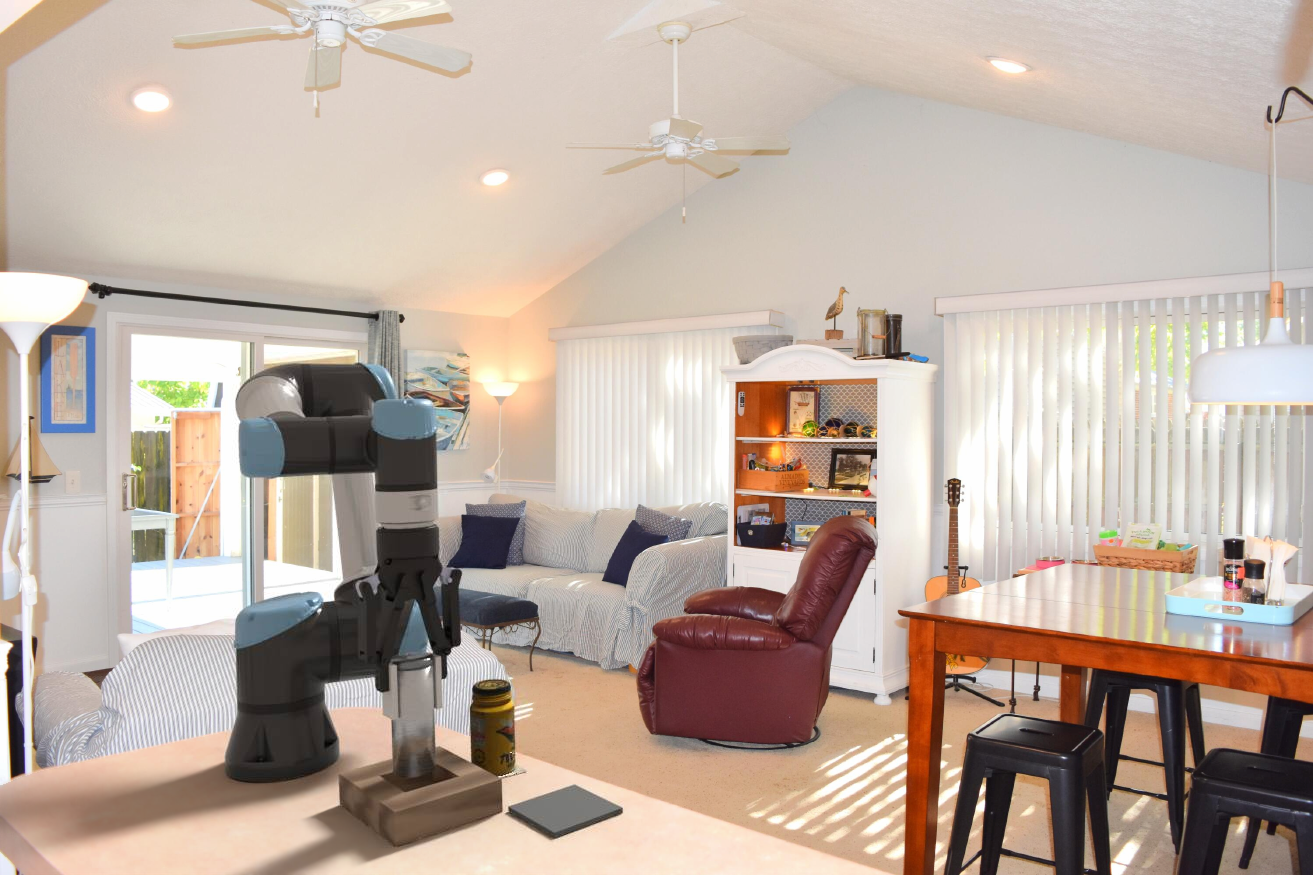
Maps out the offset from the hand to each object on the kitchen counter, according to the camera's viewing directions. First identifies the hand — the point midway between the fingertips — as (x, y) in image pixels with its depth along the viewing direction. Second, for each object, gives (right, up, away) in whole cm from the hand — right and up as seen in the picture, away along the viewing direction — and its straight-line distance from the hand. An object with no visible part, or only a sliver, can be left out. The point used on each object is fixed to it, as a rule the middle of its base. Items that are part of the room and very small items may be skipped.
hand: (412, 710), depth 118 cm
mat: (+19, -12, -1) cm, 23 cm away
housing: (+1, -12, +1) cm, 12 cm away
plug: (0, -7, 0) cm, 7 cm away
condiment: (+7, -12, +13) cm, 19 cm away
